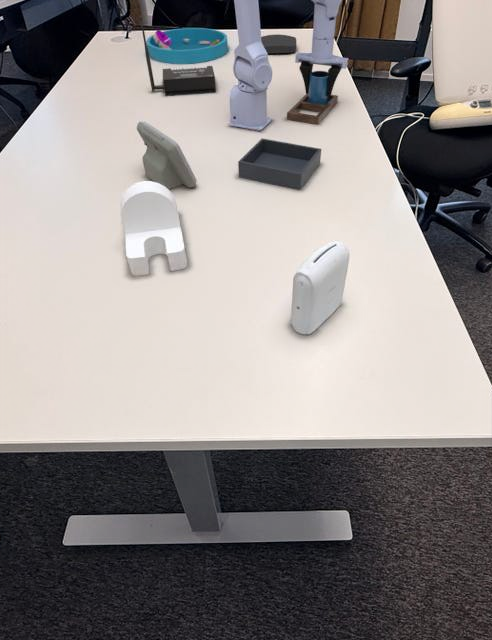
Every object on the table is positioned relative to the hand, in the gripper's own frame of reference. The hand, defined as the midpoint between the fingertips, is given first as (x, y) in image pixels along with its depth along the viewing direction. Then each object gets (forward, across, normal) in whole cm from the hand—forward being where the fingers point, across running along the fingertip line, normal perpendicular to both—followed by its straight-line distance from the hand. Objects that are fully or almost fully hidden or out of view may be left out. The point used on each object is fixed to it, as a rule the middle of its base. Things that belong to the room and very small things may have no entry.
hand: (318, 94), depth 125 cm
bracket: (+3, +6, +77) cm, 77 cm away
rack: (+3, 0, +4) cm, 5 cm away
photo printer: (+3, -29, +84) cm, 89 cm away
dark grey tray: (+3, -5, +41) cm, 41 cm away
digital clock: (+3, +17, +54) cm, 57 cm away
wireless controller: (+3, +45, +1) cm, 45 cm away
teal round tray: (+3, +63, -33) cm, 71 cm away
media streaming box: (+1, +33, -47) cm, 57 cm away
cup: (+3, 0, 0) cm, 3 cm away
